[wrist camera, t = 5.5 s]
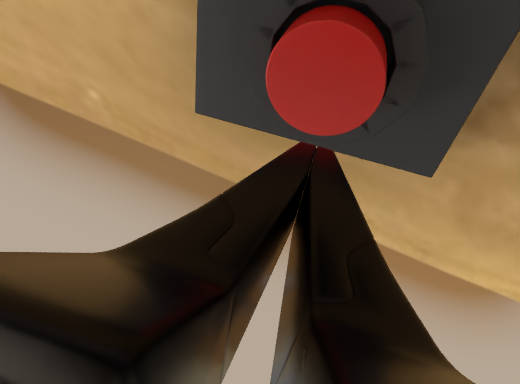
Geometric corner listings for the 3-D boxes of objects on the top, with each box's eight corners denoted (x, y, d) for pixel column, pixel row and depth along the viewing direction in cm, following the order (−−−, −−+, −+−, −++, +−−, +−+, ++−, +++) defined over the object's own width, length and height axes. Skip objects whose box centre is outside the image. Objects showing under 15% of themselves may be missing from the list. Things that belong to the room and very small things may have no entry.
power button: (405, 18, 13) (407, 37, 12) (365, 123, 16) (362, 149, 15) (288, -8, 14) (275, 6, 12) (270, 98, 17) (257, 120, 15)
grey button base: (544, -62, 14) (591, -45, 11) (428, 150, 21) (435, 201, 17) (224, -124, 15) (178, -127, 12) (212, 92, 22) (180, 129, 19)
